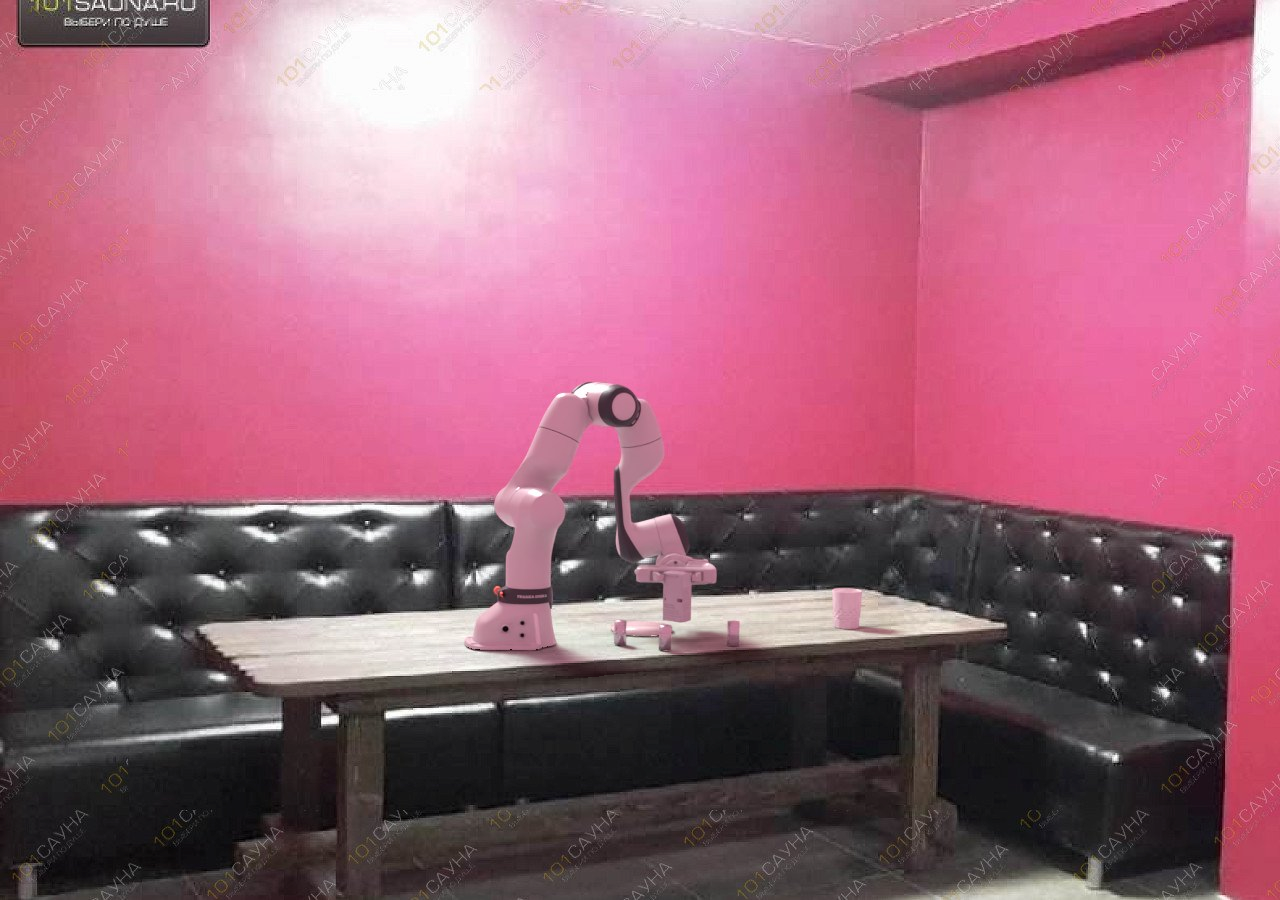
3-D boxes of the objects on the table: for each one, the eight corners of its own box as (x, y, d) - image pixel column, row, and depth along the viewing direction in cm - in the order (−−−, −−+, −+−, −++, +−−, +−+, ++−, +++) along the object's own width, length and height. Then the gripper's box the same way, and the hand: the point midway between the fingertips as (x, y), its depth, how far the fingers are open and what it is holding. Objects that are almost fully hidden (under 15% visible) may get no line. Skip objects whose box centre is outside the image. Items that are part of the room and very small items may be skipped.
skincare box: (661, 620, 339) (661, 572, 338) (672, 617, 342) (671, 569, 342) (682, 623, 335) (682, 574, 335) (692, 620, 339) (692, 571, 338)
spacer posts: (623, 652, 329) (623, 627, 328) (612, 643, 340) (613, 619, 339) (744, 648, 336) (744, 624, 336) (729, 640, 347) (730, 616, 347)
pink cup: (840, 630, 363) (841, 593, 362) (826, 625, 370) (826, 588, 370) (866, 629, 366) (867, 591, 365) (851, 624, 373) (852, 587, 373)
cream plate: (618, 637, 348) (618, 632, 348) (604, 626, 363) (604, 622, 363) (679, 635, 352) (679, 631, 352) (663, 624, 367) (663, 620, 367)
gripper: (634, 557, 351) (635, 565, 337) (713, 559, 351) (718, 566, 338) (633, 582, 351) (635, 590, 337) (713, 583, 352) (718, 591, 338)
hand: (677, 578), depth 337 cm, fingers closed on skincare box, 7 cm apart
